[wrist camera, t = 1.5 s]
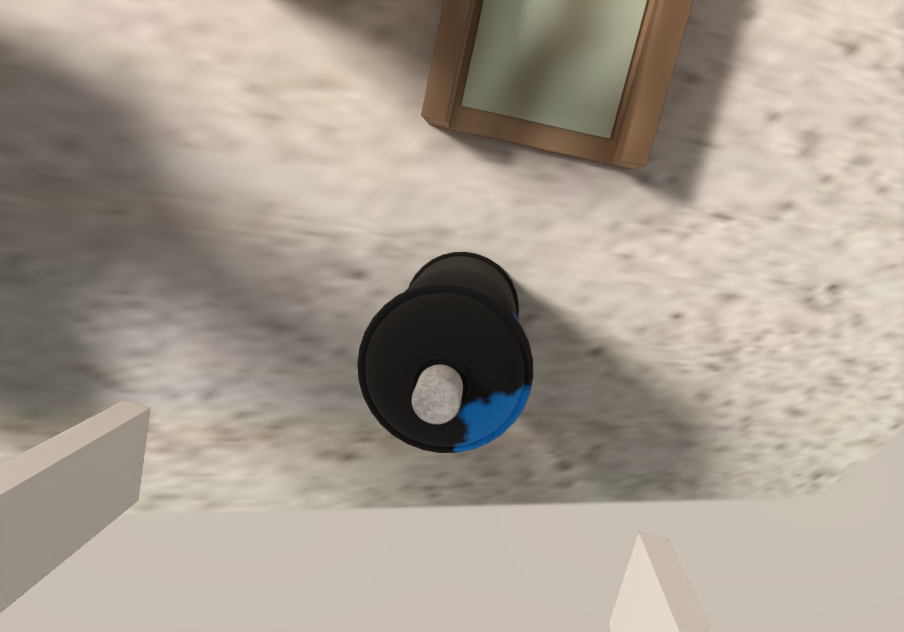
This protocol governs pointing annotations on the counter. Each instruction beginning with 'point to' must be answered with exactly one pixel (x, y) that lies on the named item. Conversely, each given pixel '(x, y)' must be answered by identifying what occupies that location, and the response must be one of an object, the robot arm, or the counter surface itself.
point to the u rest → (557, 73)
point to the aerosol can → (448, 357)
